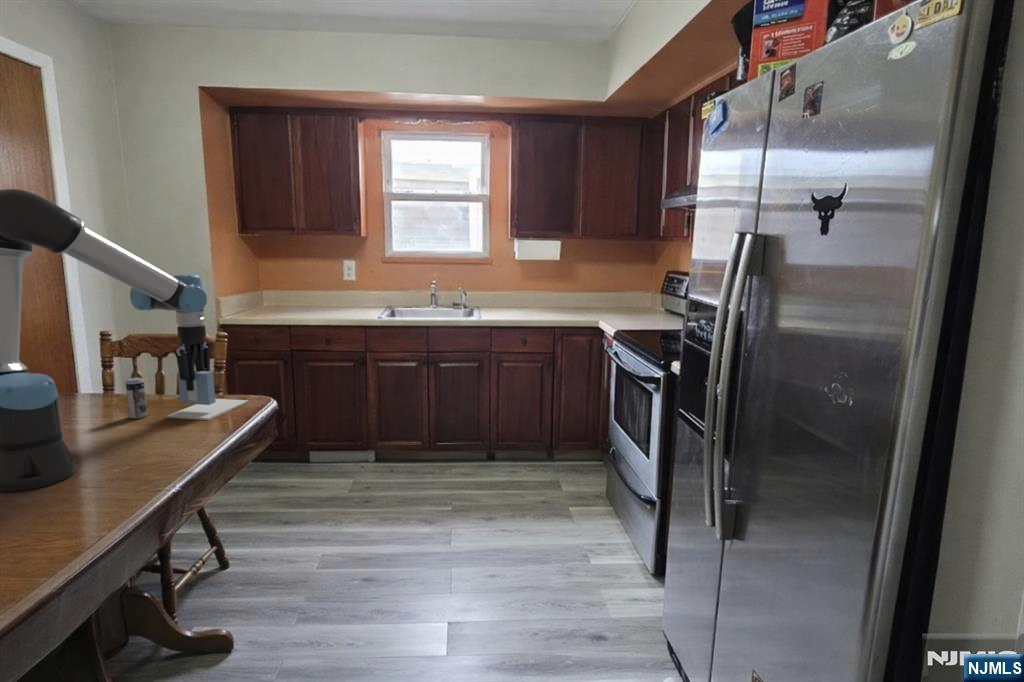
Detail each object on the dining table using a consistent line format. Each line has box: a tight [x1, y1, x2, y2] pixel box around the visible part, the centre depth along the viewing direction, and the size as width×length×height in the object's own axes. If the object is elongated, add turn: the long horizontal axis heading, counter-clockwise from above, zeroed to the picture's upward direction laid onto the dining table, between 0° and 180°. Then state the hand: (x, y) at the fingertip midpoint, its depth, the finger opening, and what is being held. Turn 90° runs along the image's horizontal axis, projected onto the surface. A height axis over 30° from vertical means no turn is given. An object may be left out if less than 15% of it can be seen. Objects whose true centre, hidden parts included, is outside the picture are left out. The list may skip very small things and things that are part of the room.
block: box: [176, 370, 216, 405], centre depth 173 cm, size 3×10×10 cm, turn 82°
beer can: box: [125, 377, 148, 420], centre depth 169 cm, size 5×5×12 cm
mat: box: [166, 398, 250, 421], centre depth 178 cm, size 20×14×1 cm
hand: (197, 398), depth 174 cm, fingers closed on block, 3 cm apart
